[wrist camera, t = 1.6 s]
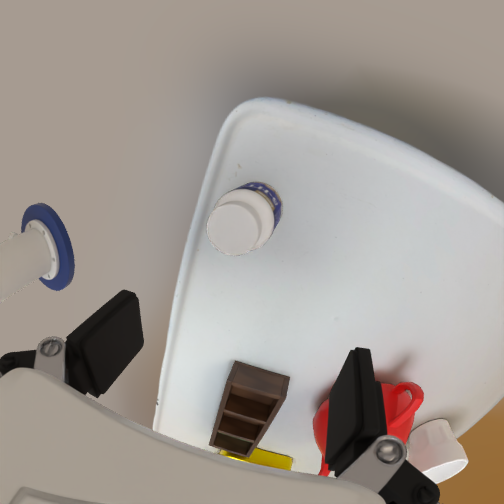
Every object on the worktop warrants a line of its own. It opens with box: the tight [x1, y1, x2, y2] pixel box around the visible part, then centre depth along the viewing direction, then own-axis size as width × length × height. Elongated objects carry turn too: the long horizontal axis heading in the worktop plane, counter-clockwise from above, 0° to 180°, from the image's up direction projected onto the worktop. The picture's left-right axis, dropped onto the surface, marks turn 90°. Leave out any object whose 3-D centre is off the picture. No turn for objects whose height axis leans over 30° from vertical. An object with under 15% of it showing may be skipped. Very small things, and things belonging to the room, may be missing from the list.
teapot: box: [313, 382, 424, 476], centre depth 30 cm, size 25×16×12 cm, turn 160°
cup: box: [408, 419, 468, 484], centre depth 30 cm, size 12×12×11 cm
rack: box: [209, 361, 290, 458], centre depth 39 cm, size 8×23×4 cm, turn 167°
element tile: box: [219, 448, 292, 471], centre depth 46 cm, size 15×15×5 cm
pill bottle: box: [207, 182, 283, 256], centre depth 24 cm, size 5×5×9 cm
